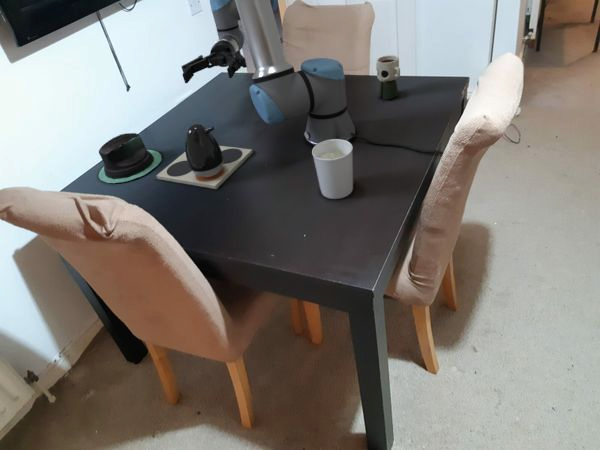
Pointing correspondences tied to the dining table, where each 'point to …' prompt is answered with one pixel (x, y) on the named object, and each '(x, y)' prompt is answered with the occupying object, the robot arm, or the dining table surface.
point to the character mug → (388, 75)
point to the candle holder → (334, 167)
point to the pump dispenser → (203, 151)
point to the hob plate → (185, 175)
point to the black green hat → (126, 158)
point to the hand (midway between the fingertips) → (206, 76)
